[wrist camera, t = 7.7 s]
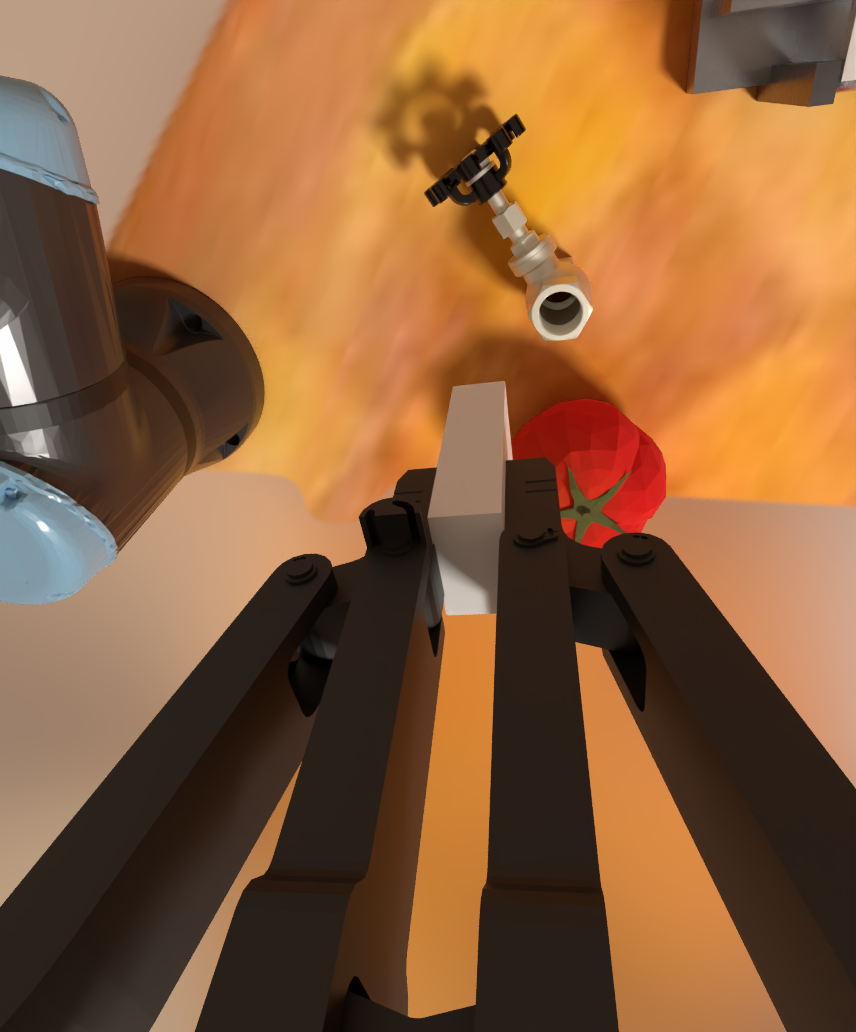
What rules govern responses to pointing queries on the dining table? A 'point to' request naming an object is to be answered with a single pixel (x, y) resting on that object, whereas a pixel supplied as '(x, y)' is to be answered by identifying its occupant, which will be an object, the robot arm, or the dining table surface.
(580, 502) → the tomato
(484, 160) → the valve
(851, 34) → the grey long bar
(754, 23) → the heatsink
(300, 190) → the dining table surface
